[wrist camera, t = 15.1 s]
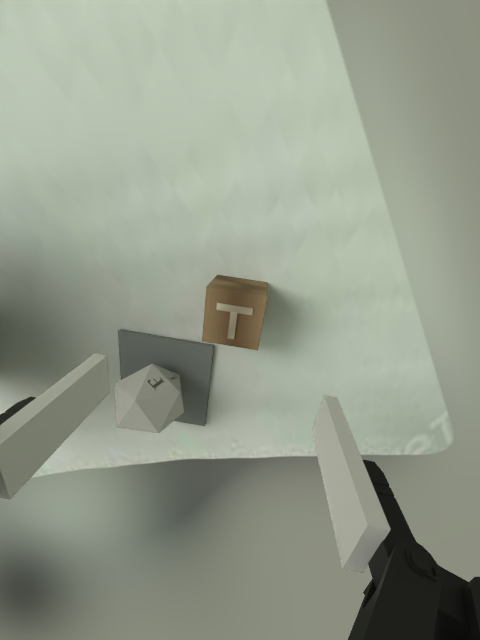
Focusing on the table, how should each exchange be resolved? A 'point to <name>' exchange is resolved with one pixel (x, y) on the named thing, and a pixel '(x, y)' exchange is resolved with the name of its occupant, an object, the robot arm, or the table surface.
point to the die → (148, 399)
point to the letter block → (234, 311)
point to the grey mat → (172, 367)
